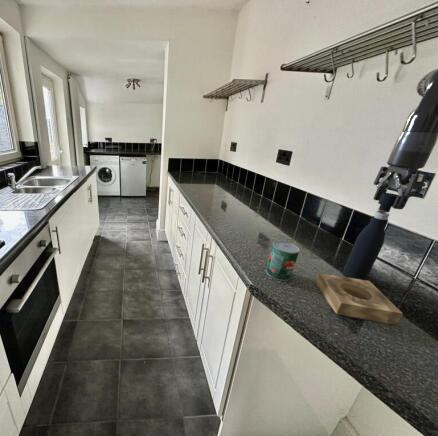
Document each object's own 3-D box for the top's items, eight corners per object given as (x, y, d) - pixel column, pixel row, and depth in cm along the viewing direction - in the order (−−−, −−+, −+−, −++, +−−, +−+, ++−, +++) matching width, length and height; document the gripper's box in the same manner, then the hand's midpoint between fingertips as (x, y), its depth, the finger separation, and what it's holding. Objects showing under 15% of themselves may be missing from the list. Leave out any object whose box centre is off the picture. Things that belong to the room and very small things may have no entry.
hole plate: (364, 290, 74) (369, 280, 72) (396, 324, 61) (403, 313, 60) (315, 283, 77) (319, 273, 75) (336, 314, 64) (341, 302, 63)
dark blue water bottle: (369, 284, 77) (411, 198, 66) (346, 279, 79) (383, 195, 68) (360, 273, 83) (398, 193, 71) (339, 269, 85) (372, 190, 73)
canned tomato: (290, 284, 76) (300, 255, 72) (264, 276, 79) (272, 248, 75) (290, 271, 82) (299, 244, 78) (266, 265, 86) (273, 238, 82)
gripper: (453, 153, 57) (421, 213, 63) (408, 147, 70) (385, 198, 76) (416, 151, 59) (388, 210, 65) (379, 146, 72) (358, 196, 78)
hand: (386, 204), depth 71 cm, fingers open, 8 cm apart
